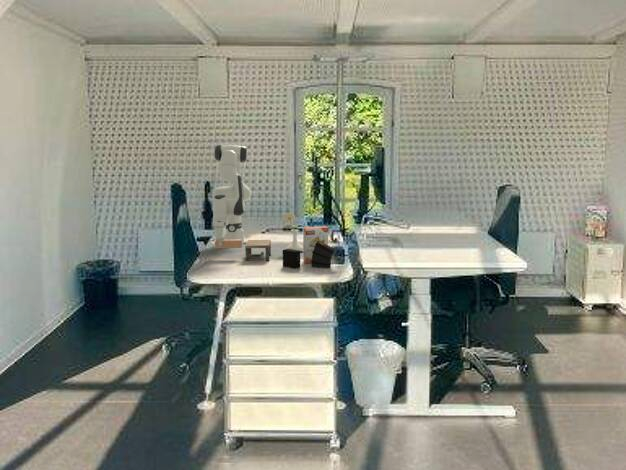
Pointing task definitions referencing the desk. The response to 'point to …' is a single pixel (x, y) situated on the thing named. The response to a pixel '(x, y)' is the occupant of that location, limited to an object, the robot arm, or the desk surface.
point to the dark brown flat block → (322, 255)
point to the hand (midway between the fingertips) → (221, 244)
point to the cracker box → (313, 240)
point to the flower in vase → (294, 245)
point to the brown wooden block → (229, 243)
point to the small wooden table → (258, 244)
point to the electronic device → (291, 258)
